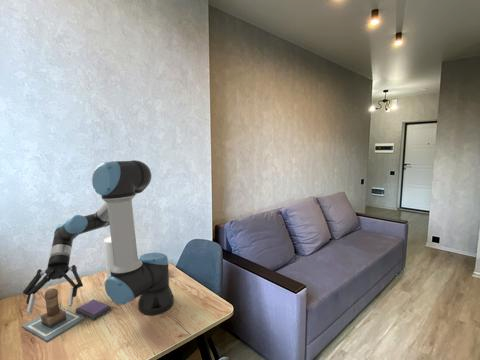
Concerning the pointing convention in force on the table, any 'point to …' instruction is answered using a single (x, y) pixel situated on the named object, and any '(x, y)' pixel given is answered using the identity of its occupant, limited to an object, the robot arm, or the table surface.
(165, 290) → the robot arm
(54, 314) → the stamp
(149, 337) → the table surface
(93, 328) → the table surface
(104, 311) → the ink pad
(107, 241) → the canister
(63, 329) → the form board
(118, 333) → the table surface
